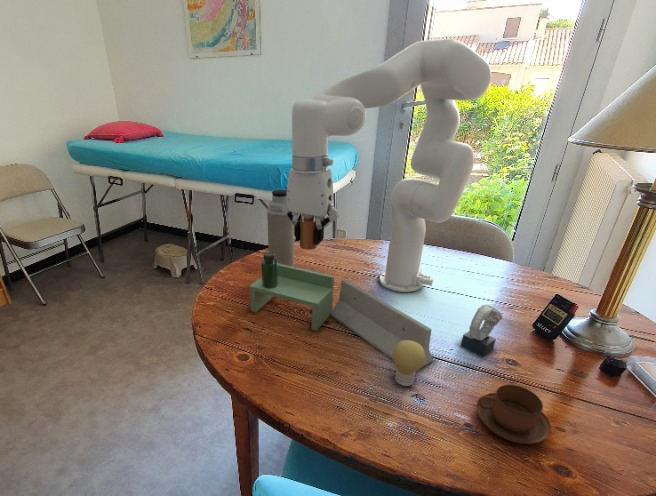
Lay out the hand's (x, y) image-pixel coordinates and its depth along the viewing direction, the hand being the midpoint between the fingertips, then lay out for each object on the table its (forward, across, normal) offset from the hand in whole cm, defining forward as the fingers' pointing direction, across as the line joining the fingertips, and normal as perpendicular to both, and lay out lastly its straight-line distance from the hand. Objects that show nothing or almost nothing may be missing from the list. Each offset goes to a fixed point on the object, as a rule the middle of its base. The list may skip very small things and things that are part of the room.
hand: (308, 240), depth 96 cm
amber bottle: (+1, 0, 0) cm, 1 cm away
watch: (+23, -40, -8) cm, 47 cm away
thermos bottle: (+23, +18, -18) cm, 34 cm away
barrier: (+23, -18, -1) cm, 29 cm away
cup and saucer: (+23, -48, +14) cm, 55 cm away
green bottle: (+15, +11, 0) cm, 18 cm away
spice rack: (+23, +6, -2) cm, 23 cm away
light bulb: (+23, -28, +12) cm, 38 cm away
